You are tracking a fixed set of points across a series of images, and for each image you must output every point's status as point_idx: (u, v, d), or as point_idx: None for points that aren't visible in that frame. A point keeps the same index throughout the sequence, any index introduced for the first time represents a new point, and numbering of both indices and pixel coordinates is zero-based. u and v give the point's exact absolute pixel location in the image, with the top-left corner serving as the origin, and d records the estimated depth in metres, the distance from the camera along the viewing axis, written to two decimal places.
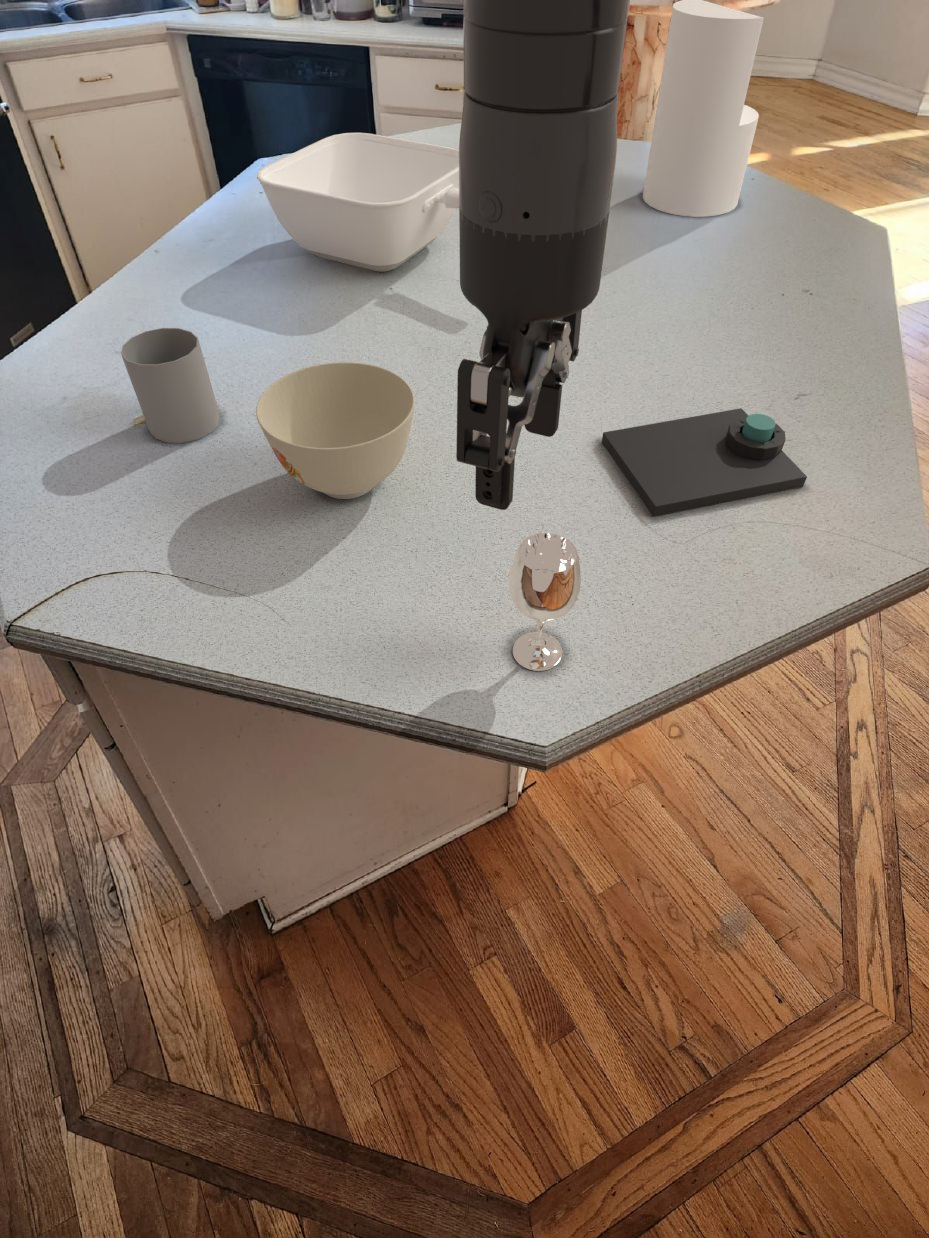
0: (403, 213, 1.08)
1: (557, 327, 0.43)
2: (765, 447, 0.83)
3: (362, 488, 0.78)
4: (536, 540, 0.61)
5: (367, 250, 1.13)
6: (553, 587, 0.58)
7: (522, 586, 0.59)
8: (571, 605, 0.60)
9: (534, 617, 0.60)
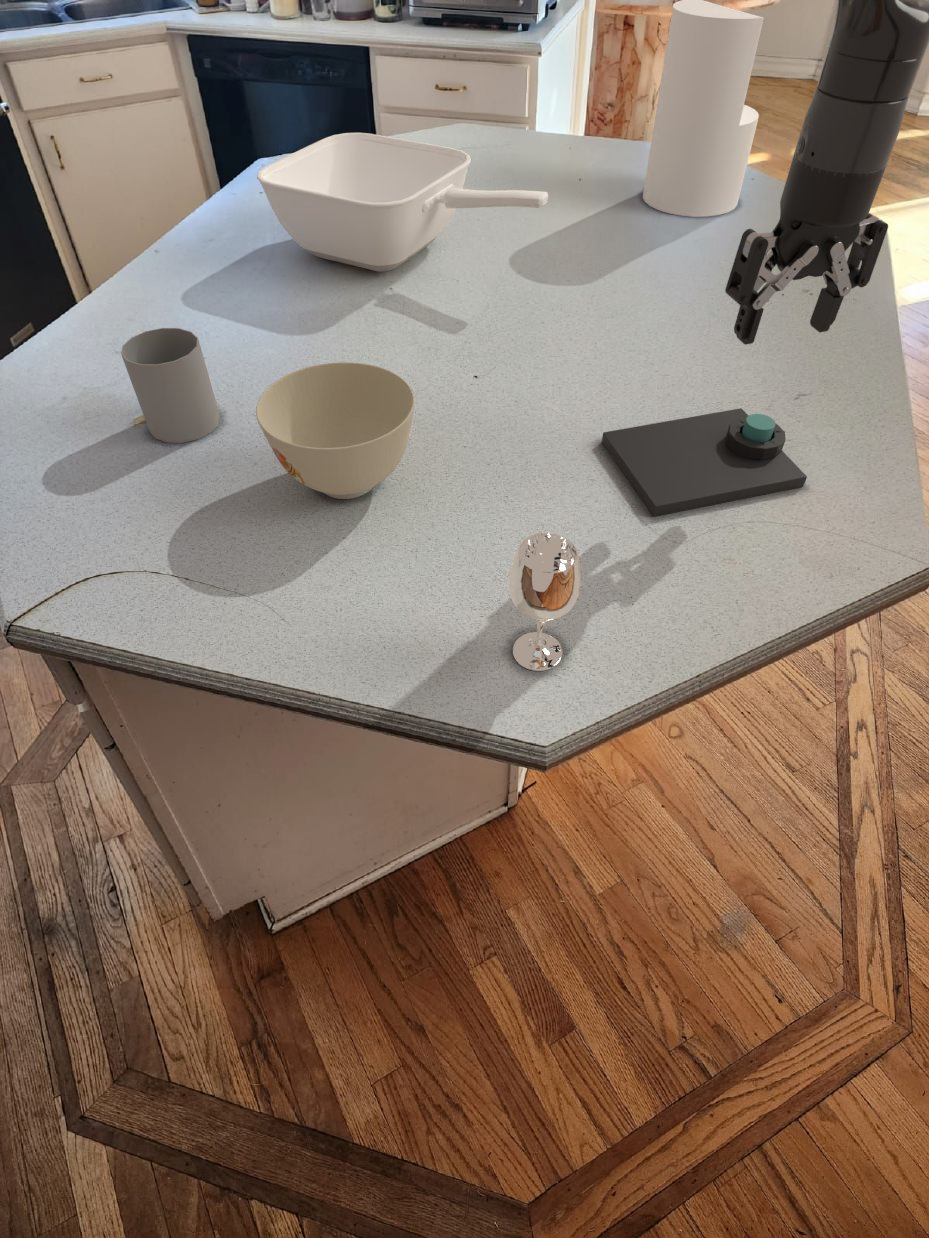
0: (403, 213, 1.08)
1: (832, 242, 0.68)
2: (765, 447, 0.83)
3: (362, 488, 0.78)
4: (536, 540, 0.61)
5: (367, 250, 1.13)
6: (553, 587, 0.58)
7: (522, 586, 0.59)
8: (571, 605, 0.60)
9: (534, 617, 0.60)
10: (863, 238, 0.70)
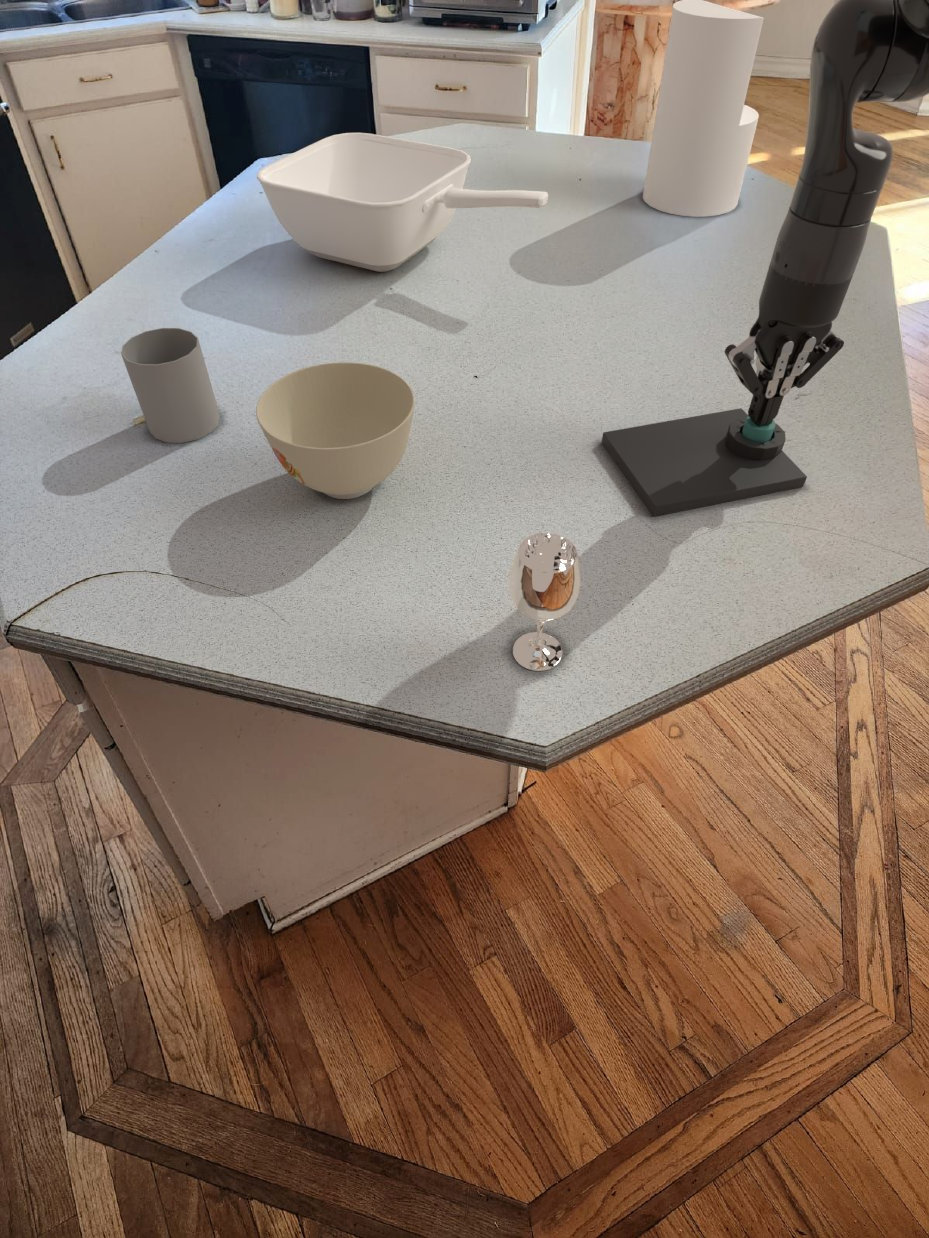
0: (403, 213, 1.08)
1: (806, 337, 0.75)
2: (765, 447, 0.83)
3: (362, 488, 0.78)
4: (536, 540, 0.61)
5: (367, 250, 1.13)
6: (553, 587, 0.58)
7: (522, 586, 0.59)
8: (571, 605, 0.60)
9: (534, 617, 0.60)
10: (822, 344, 0.78)
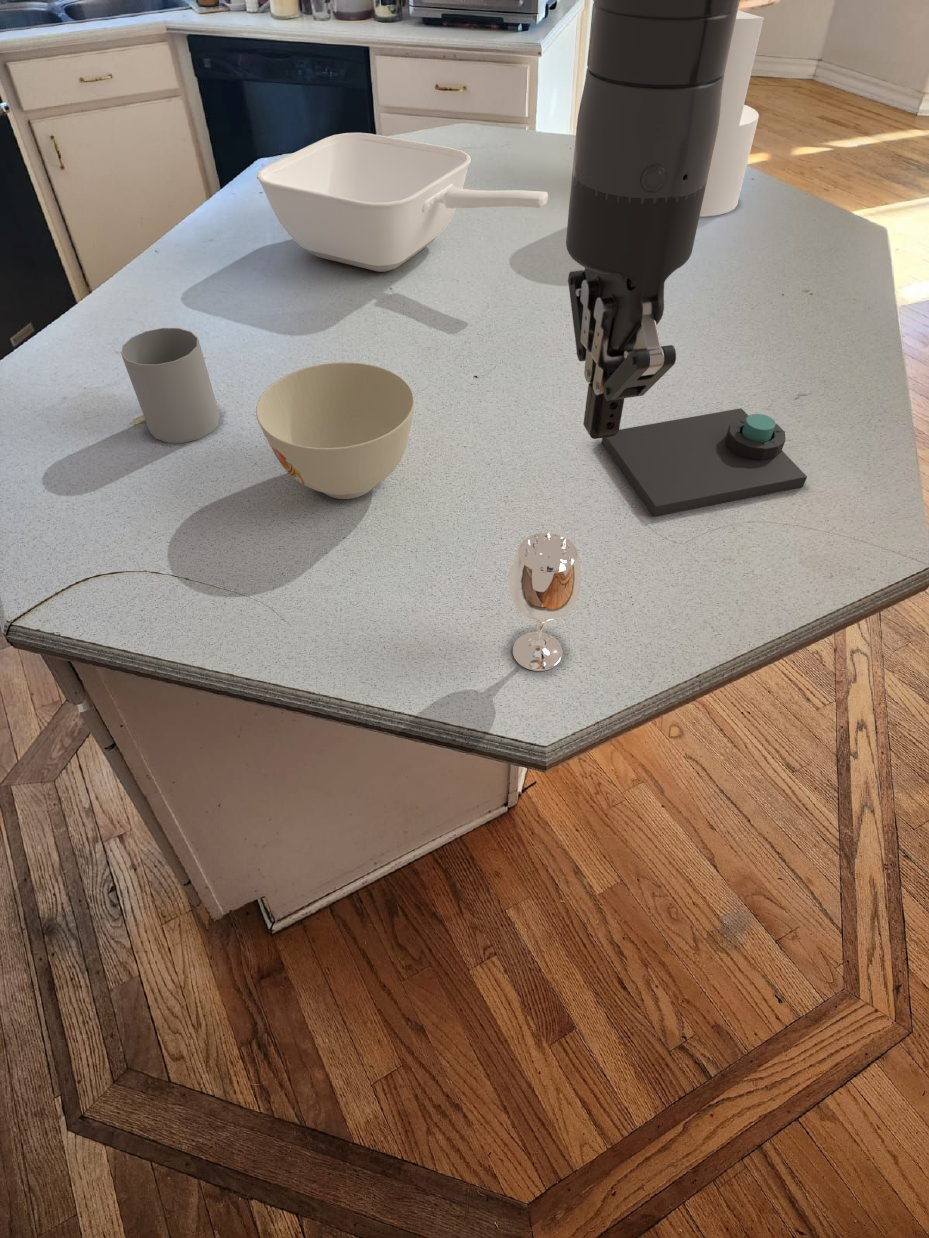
0: (403, 213, 1.08)
1: None
2: (765, 447, 0.83)
3: (362, 488, 0.78)
4: (536, 540, 0.61)
5: (367, 250, 1.13)
6: (553, 587, 0.58)
7: (522, 586, 0.59)
8: (571, 605, 0.60)
9: (534, 617, 0.60)
10: None
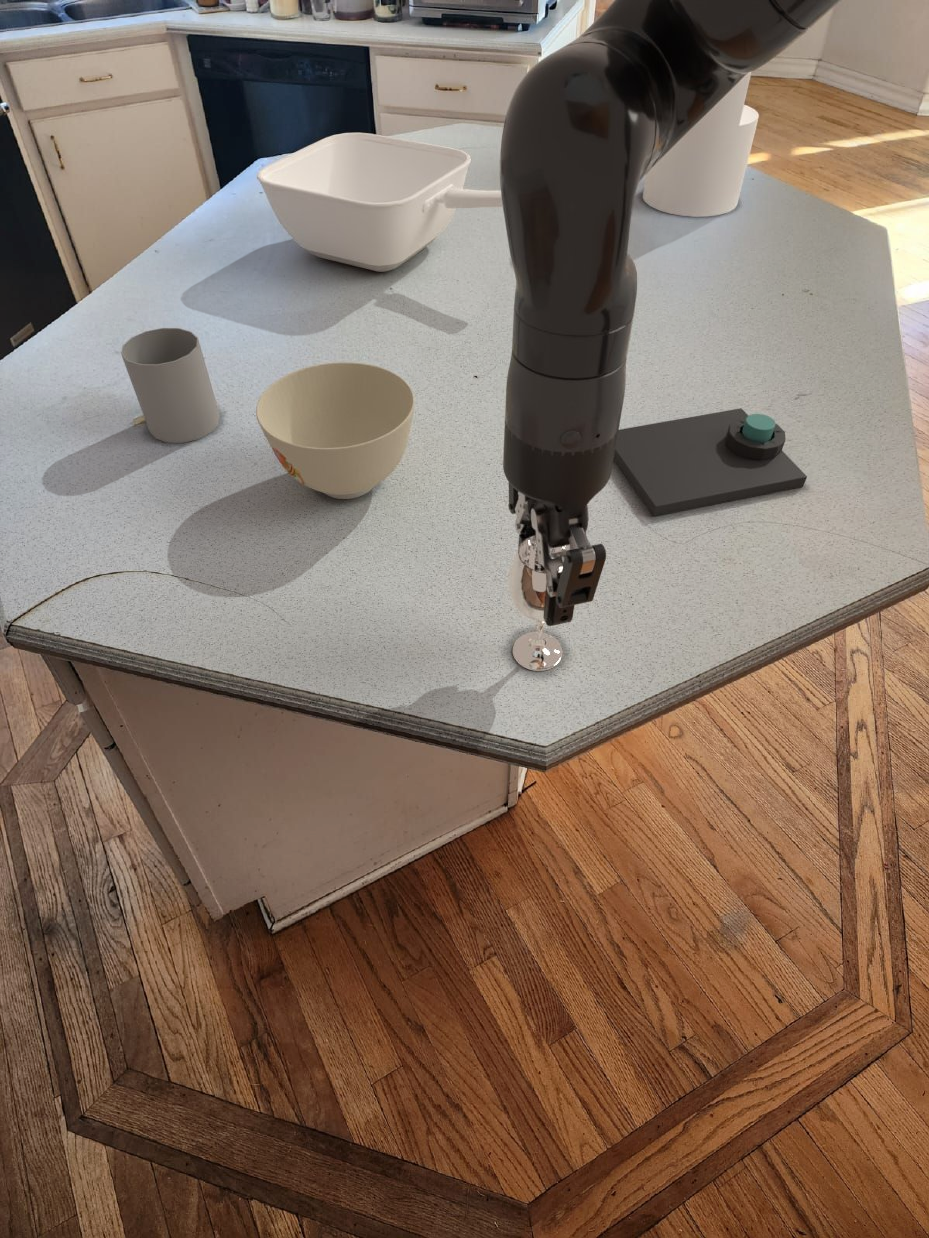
0: (403, 213, 1.08)
1: None
2: (765, 447, 0.83)
3: (362, 488, 0.78)
4: None
5: (367, 250, 1.13)
6: None
7: (522, 586, 0.59)
8: None
9: (534, 617, 0.60)
10: None
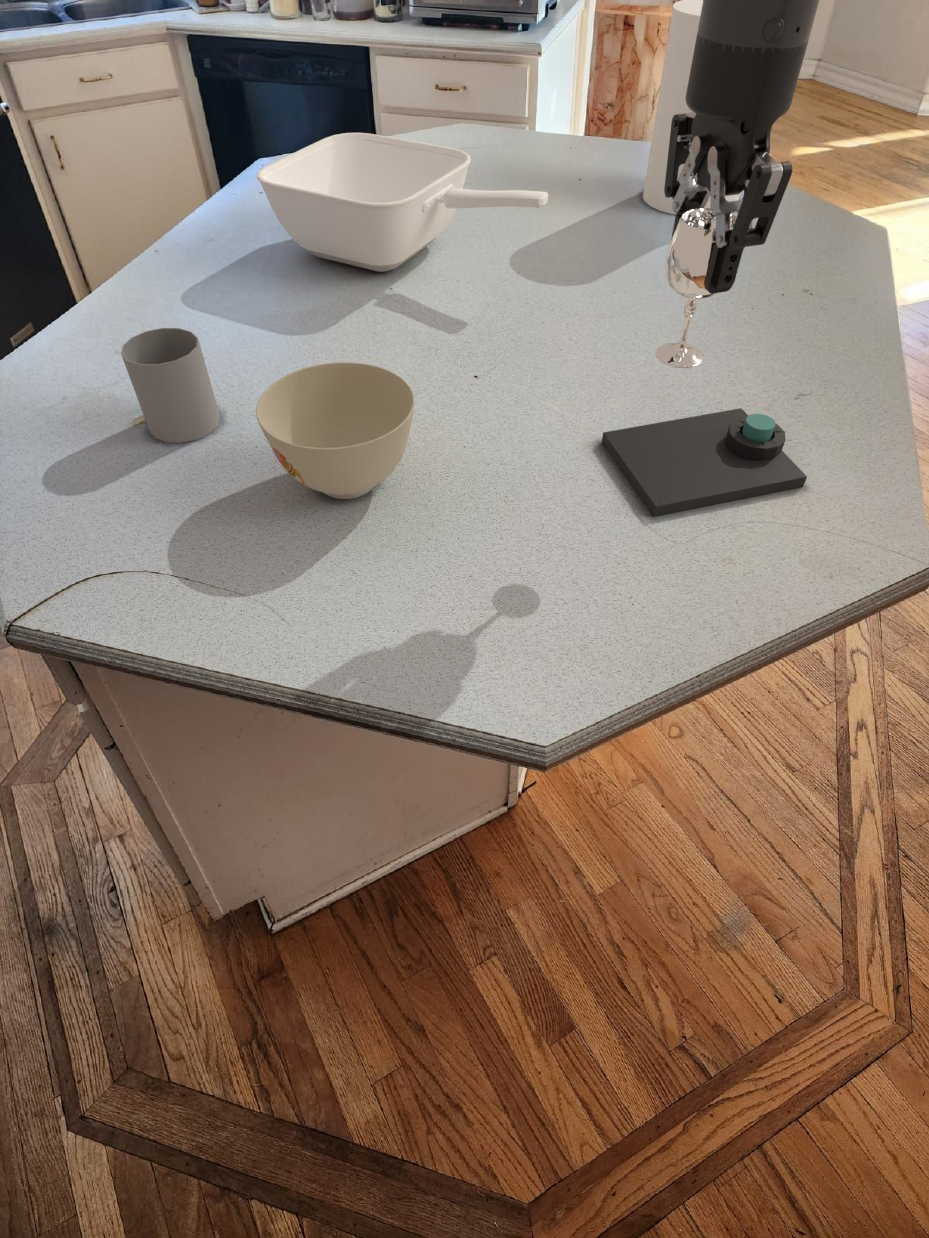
0: (403, 213, 1.08)
1: None
2: (765, 447, 0.83)
3: (362, 488, 0.78)
4: (693, 218, 0.63)
5: (367, 250, 1.13)
6: None
7: (686, 252, 0.61)
8: None
9: (693, 290, 0.63)
10: None
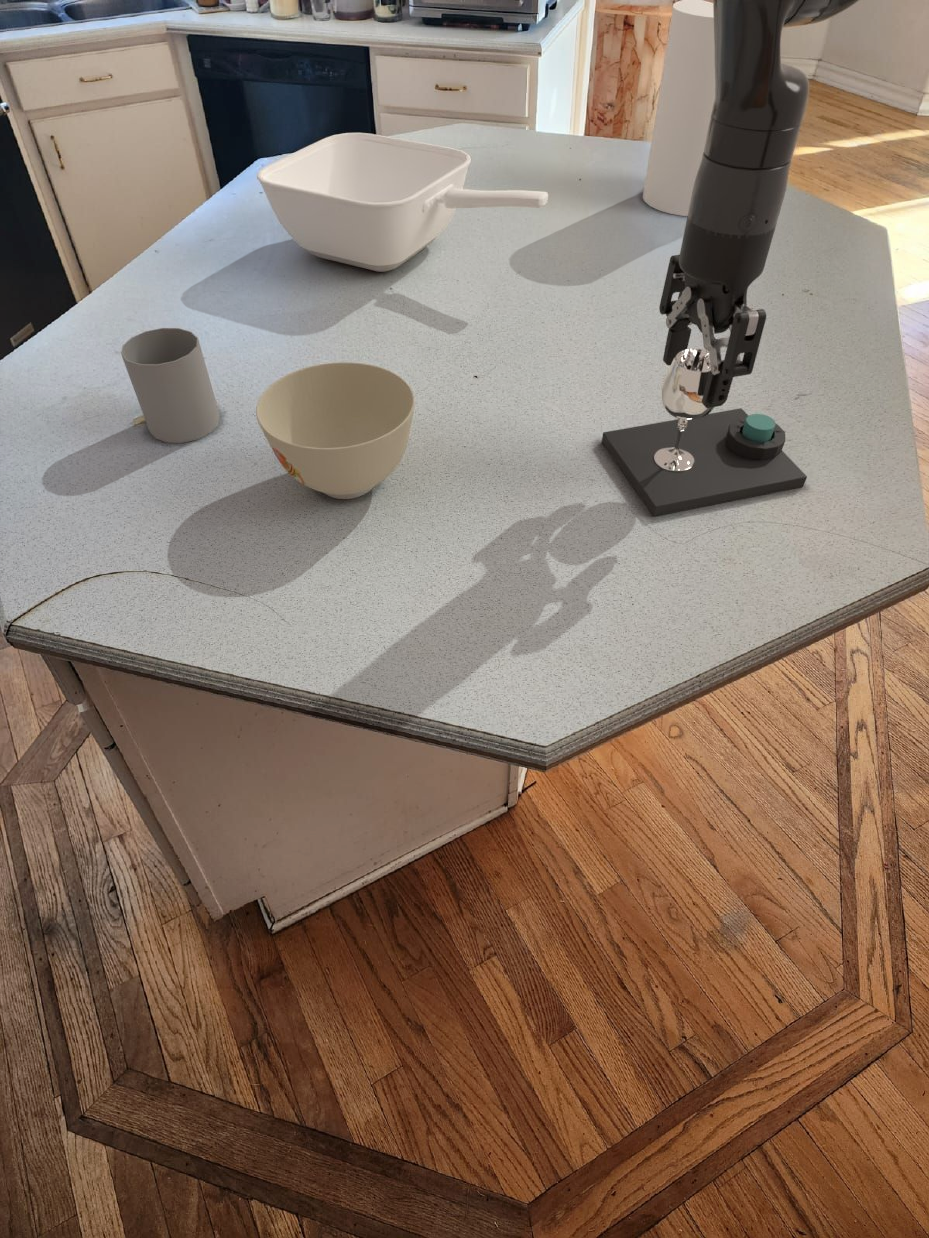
0: (403, 213, 1.08)
1: None
2: (765, 447, 0.83)
3: (362, 488, 0.78)
4: (685, 355, 0.77)
5: (367, 250, 1.13)
6: (704, 384, 0.74)
7: (678, 386, 0.75)
8: None
9: (684, 415, 0.77)
10: None
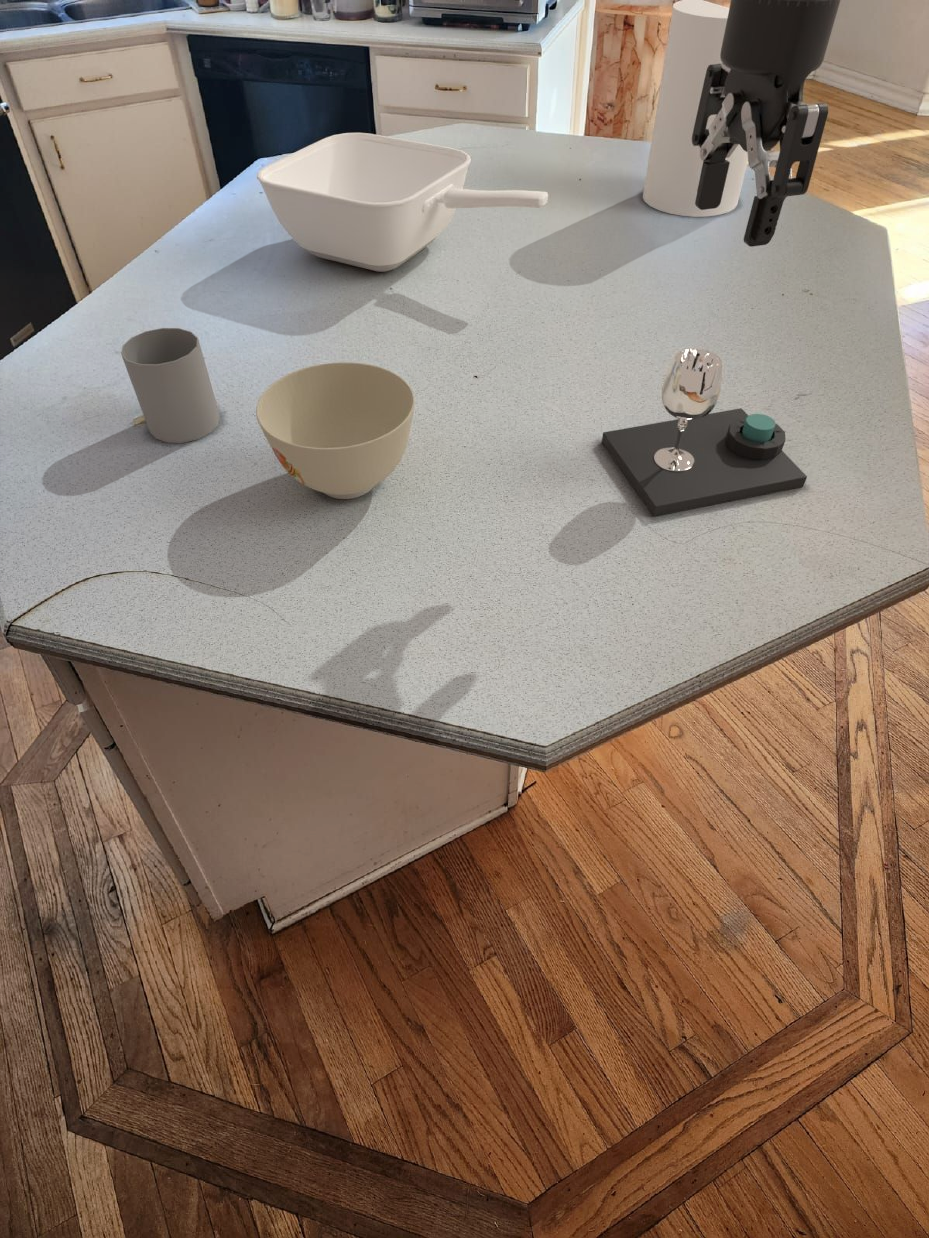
0: (403, 213, 1.08)
1: None
2: (765, 447, 0.83)
3: (362, 488, 0.78)
4: (685, 355, 0.77)
5: (367, 250, 1.13)
6: (704, 384, 0.74)
7: (678, 386, 0.75)
8: (713, 405, 0.77)
9: (684, 415, 0.77)
10: None
